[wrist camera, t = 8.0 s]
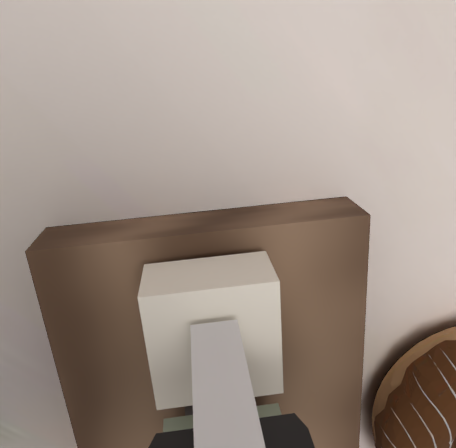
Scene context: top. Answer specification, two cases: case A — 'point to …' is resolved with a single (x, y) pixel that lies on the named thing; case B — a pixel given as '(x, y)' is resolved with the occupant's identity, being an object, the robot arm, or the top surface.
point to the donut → (419, 397)
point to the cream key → (210, 319)
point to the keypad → (192, 249)
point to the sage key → (187, 421)
